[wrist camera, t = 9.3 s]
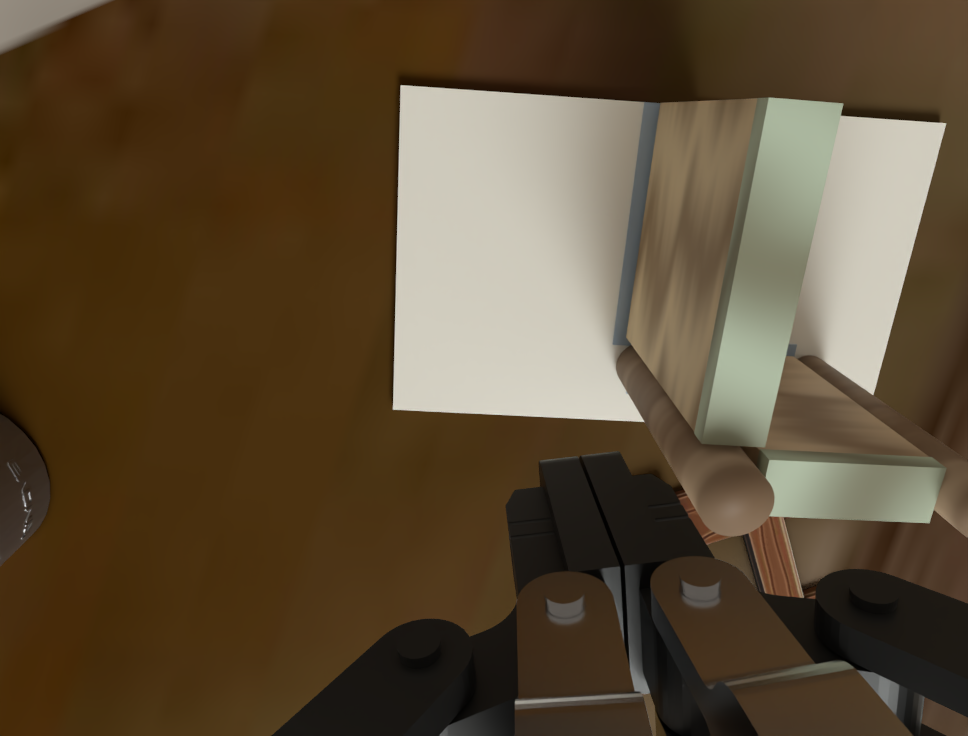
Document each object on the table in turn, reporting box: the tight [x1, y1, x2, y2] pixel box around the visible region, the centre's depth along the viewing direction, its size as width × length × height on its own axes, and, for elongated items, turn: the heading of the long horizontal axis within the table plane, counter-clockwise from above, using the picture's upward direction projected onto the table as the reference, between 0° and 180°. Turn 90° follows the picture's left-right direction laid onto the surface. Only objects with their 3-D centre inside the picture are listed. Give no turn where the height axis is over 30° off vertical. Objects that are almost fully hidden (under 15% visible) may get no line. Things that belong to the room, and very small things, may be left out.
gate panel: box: [626, 98, 843, 447], centre depth 27 cm, size 10×2×12 cm, turn 176°
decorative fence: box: [642, 489, 817, 695], centre depth 41 cm, size 23×2×15 cm
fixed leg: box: [616, 345, 968, 538], centre depth 29 cm, size 10×2×13 cm, turn 86°
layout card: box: [393, 85, 946, 422], centre depth 33 cm, size 24×15×1 cm, turn 86°
